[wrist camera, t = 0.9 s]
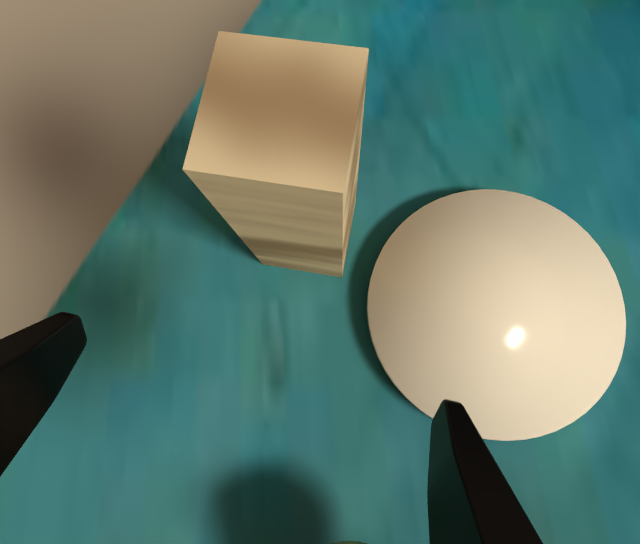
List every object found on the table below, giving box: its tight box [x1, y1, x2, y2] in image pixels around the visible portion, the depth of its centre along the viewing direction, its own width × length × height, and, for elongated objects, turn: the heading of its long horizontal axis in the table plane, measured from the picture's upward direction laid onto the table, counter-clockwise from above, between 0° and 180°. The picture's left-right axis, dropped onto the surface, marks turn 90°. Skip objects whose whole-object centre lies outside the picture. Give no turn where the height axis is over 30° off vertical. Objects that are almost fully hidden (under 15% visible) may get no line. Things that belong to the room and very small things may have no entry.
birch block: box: [183, 31, 369, 277], centre depth 19 cm, size 5×5×13 cm
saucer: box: [367, 189, 626, 441], centre depth 23 cm, size 14×14×1 cm
